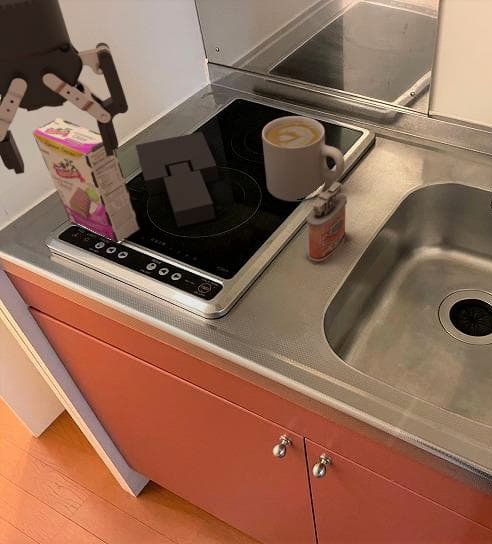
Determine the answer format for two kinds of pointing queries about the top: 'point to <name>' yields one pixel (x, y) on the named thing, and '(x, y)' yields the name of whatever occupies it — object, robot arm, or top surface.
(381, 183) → the top surface
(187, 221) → the tab pad
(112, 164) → the candy bar box
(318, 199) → the lighter
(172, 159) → the notch mat
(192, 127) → the top surface
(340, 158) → the coffee mug
